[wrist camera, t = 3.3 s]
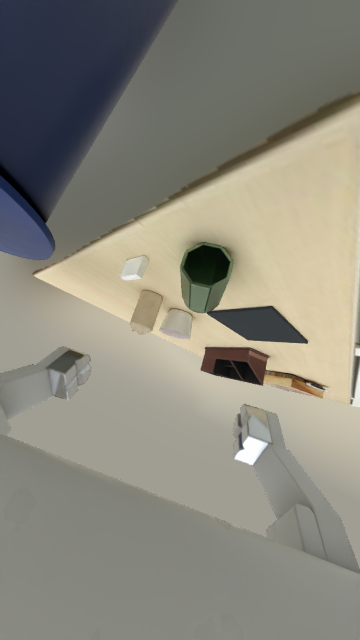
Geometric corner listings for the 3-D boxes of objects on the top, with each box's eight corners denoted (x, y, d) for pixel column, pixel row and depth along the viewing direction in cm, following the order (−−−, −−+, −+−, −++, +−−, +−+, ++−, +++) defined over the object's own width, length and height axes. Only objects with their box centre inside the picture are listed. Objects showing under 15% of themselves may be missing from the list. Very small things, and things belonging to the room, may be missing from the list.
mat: (207, 311, 48) (206, 313, 48) (272, 306, 36) (271, 309, 35) (248, 338, 60) (247, 340, 59) (307, 341, 47) (307, 343, 47)
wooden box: (331, 387, 102) (298, 374, 91) (331, 400, 100) (296, 388, 90) (288, 380, 124) (257, 369, 113) (286, 390, 122) (255, 380, 112)
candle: (163, 302, 51) (150, 338, 48) (143, 296, 51) (129, 332, 48) (162, 294, 46) (148, 334, 43) (140, 287, 46) (125, 327, 43)
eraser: (149, 260, 33) (141, 278, 32) (131, 263, 36) (124, 280, 35) (144, 255, 32) (136, 274, 31) (126, 259, 35) (118, 277, 34)
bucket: (223, 284, 33) (215, 317, 32) (188, 276, 34) (178, 307, 32) (236, 249, 24) (226, 292, 23) (189, 238, 25) (175, 280, 23)
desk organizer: (204, 347, 96) (198, 370, 93) (250, 347, 70) (244, 379, 67) (221, 353, 100) (216, 375, 96) (270, 356, 74) (265, 386, 70)
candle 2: (202, 319, 55) (196, 340, 53) (180, 319, 62) (175, 338, 60) (181, 305, 49) (174, 329, 48) (159, 307, 56) (153, 328, 54)
